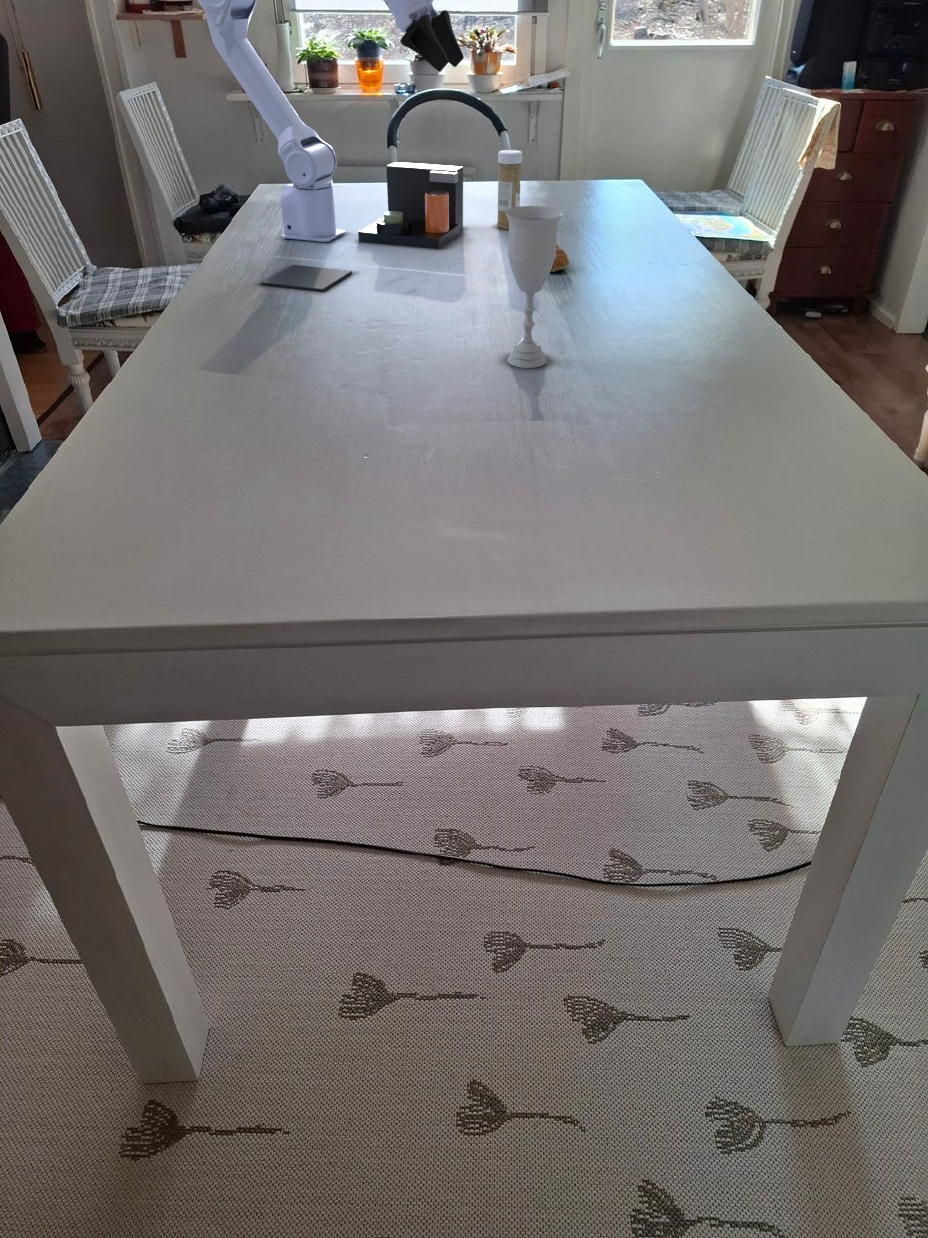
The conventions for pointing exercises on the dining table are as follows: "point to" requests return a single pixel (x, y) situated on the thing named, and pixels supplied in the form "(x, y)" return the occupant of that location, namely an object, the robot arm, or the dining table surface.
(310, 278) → the mat
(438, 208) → the espresso cup
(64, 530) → the dining table surface
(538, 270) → the chalice
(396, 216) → the button
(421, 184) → the coffee maker column
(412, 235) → the coffee maker base
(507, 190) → the sprinkles bottle
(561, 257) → the pastry
